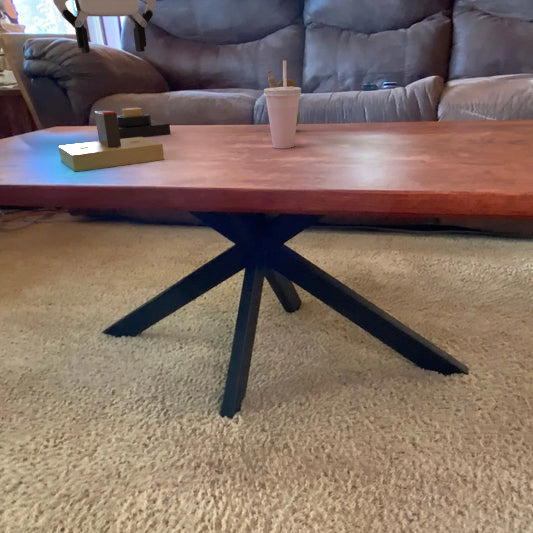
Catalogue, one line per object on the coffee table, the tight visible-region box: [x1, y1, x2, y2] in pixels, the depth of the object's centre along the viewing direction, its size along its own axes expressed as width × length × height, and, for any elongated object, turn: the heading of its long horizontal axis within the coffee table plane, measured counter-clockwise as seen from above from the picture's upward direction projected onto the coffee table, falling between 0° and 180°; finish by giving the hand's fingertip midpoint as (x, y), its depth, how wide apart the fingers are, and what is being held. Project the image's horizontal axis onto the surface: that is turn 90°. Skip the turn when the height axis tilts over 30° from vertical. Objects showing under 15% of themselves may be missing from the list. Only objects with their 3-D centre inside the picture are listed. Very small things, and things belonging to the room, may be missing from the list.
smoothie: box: [263, 60, 302, 149], centre depth 87 cm, size 6×6×14 cm
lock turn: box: [94, 110, 121, 147], centre depth 81 cm, size 6×2×5 cm, turn 32°
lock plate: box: [58, 137, 165, 172], centre depth 82 cm, size 14×10×3 cm
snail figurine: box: [267, 69, 300, 127], centre depth 104 cm, size 5×6×12 cm
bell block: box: [117, 113, 171, 139], centre depth 107 cm, size 12×10×4 cm
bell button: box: [121, 107, 143, 117], centre depth 106 cm, size 4×4×2 cm
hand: (113, 52), depth 90 cm, fingers open, 9 cm apart
